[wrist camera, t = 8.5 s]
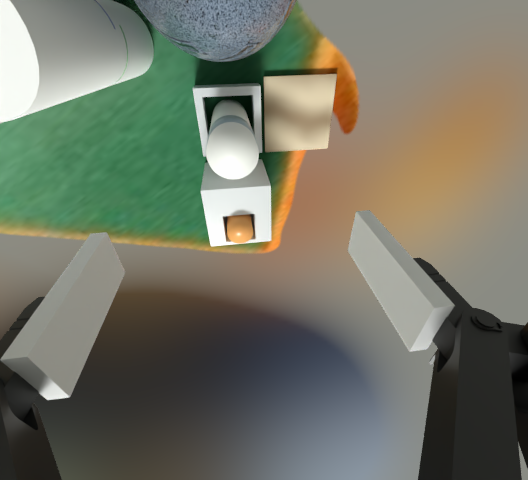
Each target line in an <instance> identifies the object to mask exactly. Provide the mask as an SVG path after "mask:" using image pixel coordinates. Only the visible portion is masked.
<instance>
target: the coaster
mask: <svg viewBox="0 0 528 480" xmlns="http://www.w3.org/2000/svg"><path fill="white" fill-rule="evenodd" d="M336 77H337V74H314V75H287V76H263V78H264V129H265V152H277V151H293V150H309V149H326V148H328V142H329V134H330V126H331V118H332V110H333V102H334V94H335V85H336Z"/></svg>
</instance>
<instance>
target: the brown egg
mask: <svg viewBox="0 0 528 480" xmlns="http://www.w3.org/2000/svg"><path fill="white" fill-rule="evenodd" d="M227 235H228V238H229V239H230V240H231V241H232V242H234V243H245V242H247V241H249V240H250V239H251V238H252V236H253V228H252V221H251V215H250V214H247V215H234V216H227Z"/></svg>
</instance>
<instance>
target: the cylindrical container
mask: <svg viewBox="0 0 528 480" xmlns="http://www.w3.org/2000/svg"><path fill="white" fill-rule="evenodd" d="M153 55H154V46H153V41H152V37H151V35H150V32H149V30H148V28H147V26H146V24H145V23H144V22H143V20H142V19H141V18H140V17H139V16H138V15H137V14H136V13H135V12H134V11H133V10H131V9H130V8H128V7H126V6H125V5H123V4H120V3H118V2H115V1H113V0H0V123H1V122H6V121H10V120H14V119H16V118H19V117H22V116H25V115H28V114H31V113H34V112H37V111H40V110H42V109H45V108H48V107H51V106H54V105H57V104H60V103H63V102H65V101H68V100H71V99H74V98H77V97H80V96H83V95H86V94H88V93H91V92H94V91H97V90H100V89H103V88H106V87H109V86H111V85H114V84H117V83H120V82H123V81H126V80H129V79H132V78H135V77H137V76H140V75H142V74H144V73H145V72H146V71H147V70H148V69H149V67H150V65H151V63H152V61H153Z"/></svg>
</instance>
